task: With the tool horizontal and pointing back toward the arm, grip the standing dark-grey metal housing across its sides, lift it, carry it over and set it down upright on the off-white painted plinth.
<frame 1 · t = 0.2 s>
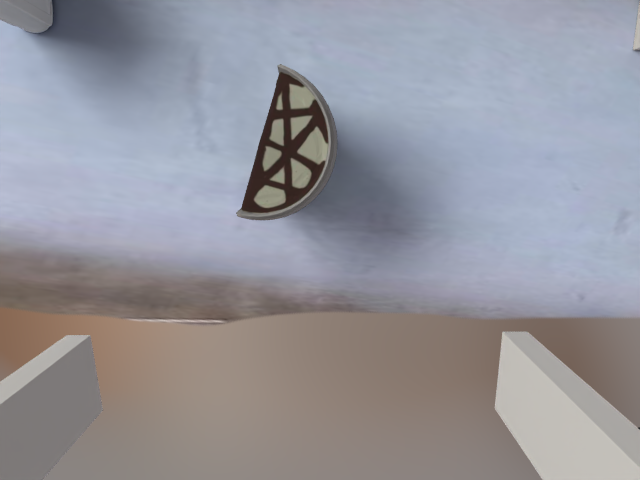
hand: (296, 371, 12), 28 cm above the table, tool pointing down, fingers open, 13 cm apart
food container: (302, 159, 38), on the table
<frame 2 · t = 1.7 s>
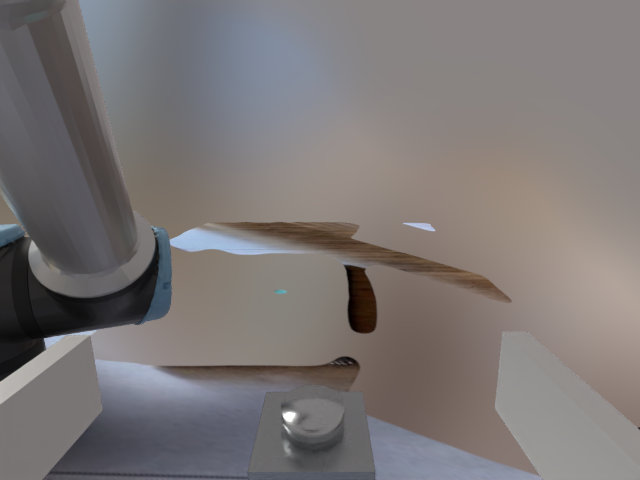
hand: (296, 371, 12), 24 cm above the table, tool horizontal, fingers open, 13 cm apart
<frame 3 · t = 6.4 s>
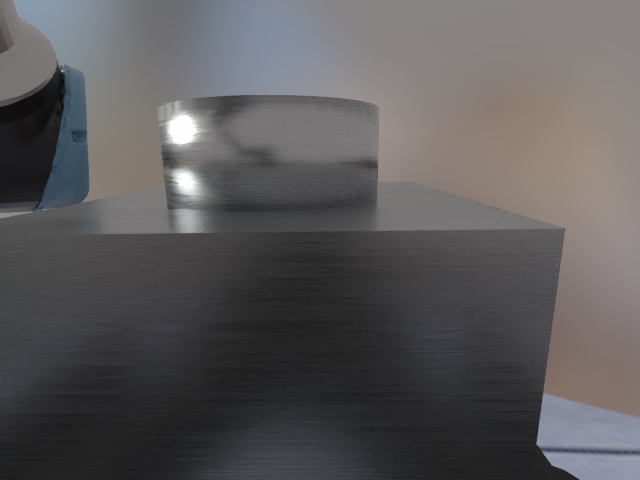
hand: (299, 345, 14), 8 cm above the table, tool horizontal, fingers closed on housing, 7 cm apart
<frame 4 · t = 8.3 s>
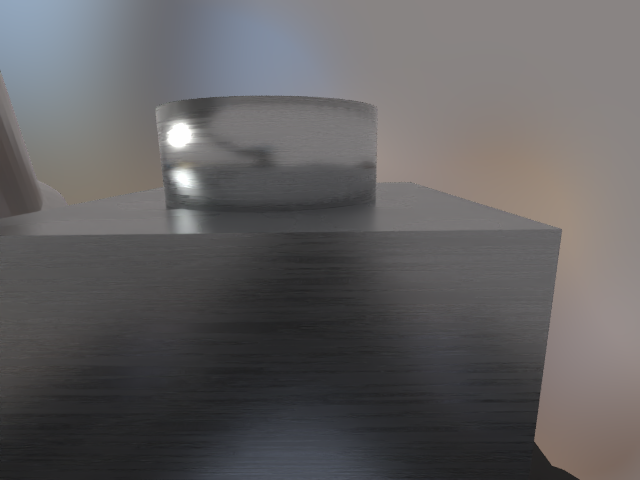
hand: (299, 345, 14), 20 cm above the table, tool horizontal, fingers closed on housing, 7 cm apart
when the fingers open (14 cm above the table, at t = 10.4 s): housing drops 1 cm, resting on plinth.
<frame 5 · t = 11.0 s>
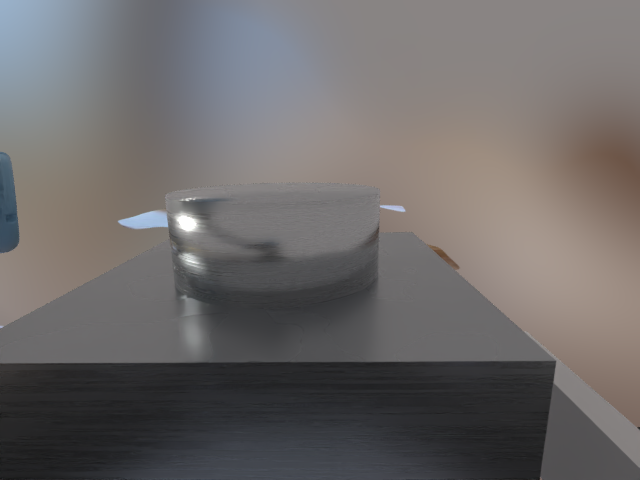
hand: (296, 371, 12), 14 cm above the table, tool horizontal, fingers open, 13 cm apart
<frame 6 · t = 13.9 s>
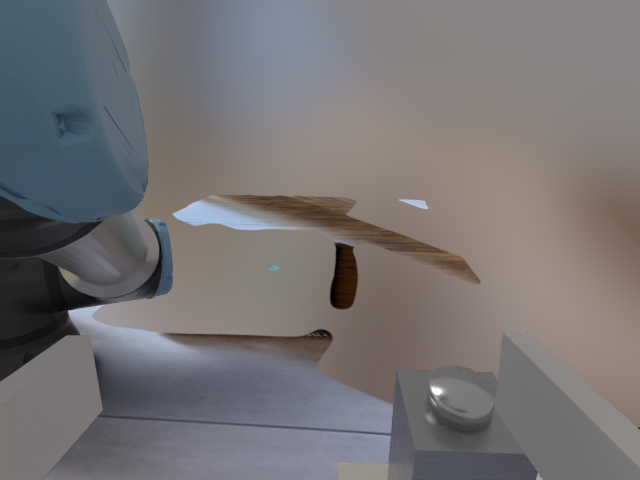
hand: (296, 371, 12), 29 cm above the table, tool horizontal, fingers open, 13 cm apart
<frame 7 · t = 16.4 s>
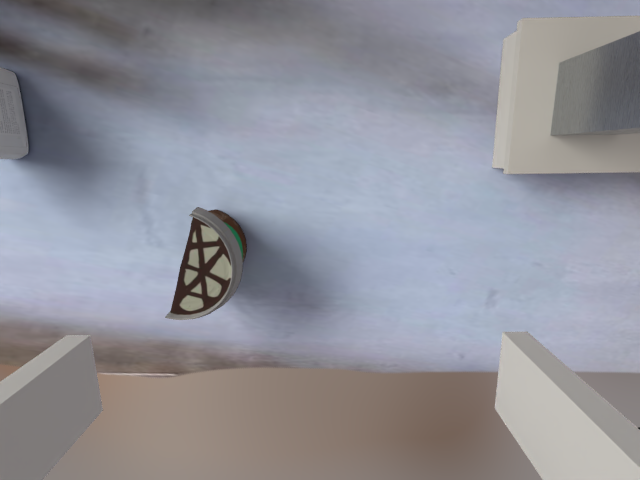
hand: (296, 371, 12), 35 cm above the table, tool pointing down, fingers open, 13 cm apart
housing: (589, 99, 38), point 5 cm above the table, touching plinth
plinth: (558, 104, 43), on the table
food container: (231, 251, 47), on the table
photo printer: (11, 114, 44), on the table
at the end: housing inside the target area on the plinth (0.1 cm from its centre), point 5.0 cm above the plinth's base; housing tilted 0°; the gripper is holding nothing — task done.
